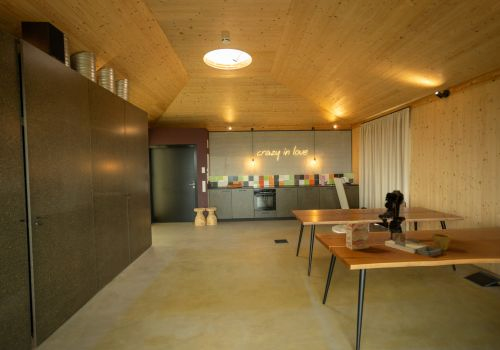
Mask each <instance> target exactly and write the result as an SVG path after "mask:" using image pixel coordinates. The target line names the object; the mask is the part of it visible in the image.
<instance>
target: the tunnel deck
mask: <svg viewBox="0 0 500 350" xmlns="http://www.w3.org/2000/svg"><path fill="white" fill-rule="evenodd" d="M384 246H386V247H389V248H393V249H397V250H400V251H404V252H406V253H407V252H408V253H411V254H417V255H421V256H425V257H429V258H433V257H435V256H436V257H437V256H440V255H443V250H442V249H439V248H436V247H434V246H430V244H427V243H423V242H420V239H417V238H413V237H408V240H407V239H405V242H400V241H395V242H394V241H393V240H392V239H389V240H385V241H384Z"/></svg>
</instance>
